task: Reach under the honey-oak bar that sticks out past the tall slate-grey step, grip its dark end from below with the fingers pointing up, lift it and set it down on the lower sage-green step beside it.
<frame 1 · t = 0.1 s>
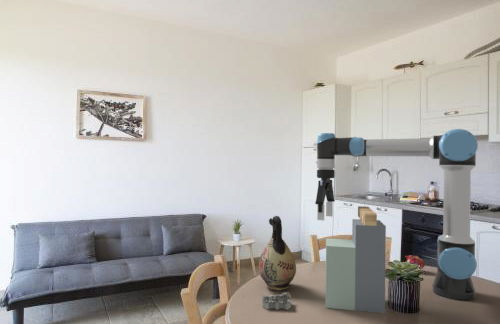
hand: (325, 218, 153), 28 cm above the table, tool pointing down, fingers open, 13 cm apart
oak bar: (366, 220, 136), point 30 cm above the table, touching two-step stand
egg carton: (276, 307, 128), on the table
flower: (414, 271, 173), on the table
ceramic jug: (277, 288, 147), on the table
two-step stand: (353, 302, 131), on the table
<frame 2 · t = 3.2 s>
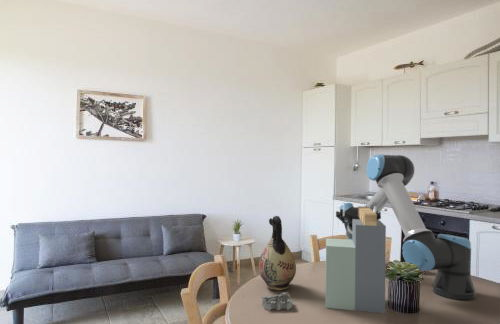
hand: (359, 208, 161), 32 cm above the table, tool pointing upward, fingers open, 13 cm apart
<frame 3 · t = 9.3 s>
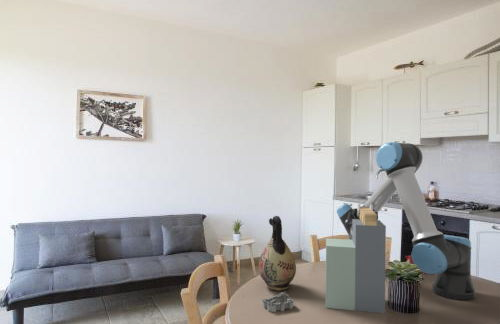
hand: (365, 207, 139), 35 cm above the table, tool pointing upward, fingers closed on oak bar, 4 cm apart
oak bar: (366, 220, 136), point 30 cm above the table, touching gripper, two-step stand
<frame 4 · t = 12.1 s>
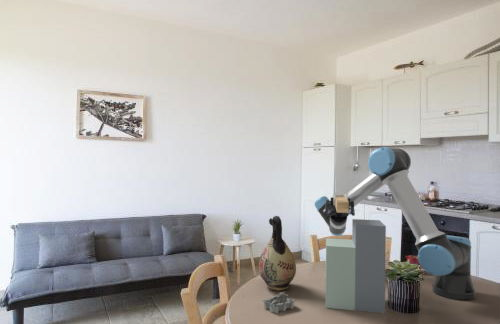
hand: (340, 195, 141), 39 cm above the table, tool pointing upward, fingers closed on oak bar, 4 cm apart
oak bar: (341, 208, 138), point 34 cm above the table, touching gripper
when the fingers open (28 cm above the table, at t = 15.1 s): oak bar drops 1 cm, resting on two-step stand.
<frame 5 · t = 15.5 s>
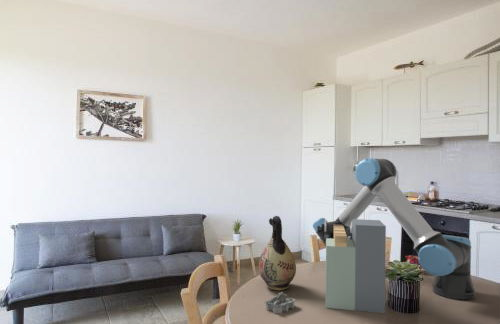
hand: (338, 223, 142), 28 cm above the table, tool pointing upward, fingers open, 10 cm apart
oak bar: (339, 239, 138), point 22 cm above the table, touching two-step stand
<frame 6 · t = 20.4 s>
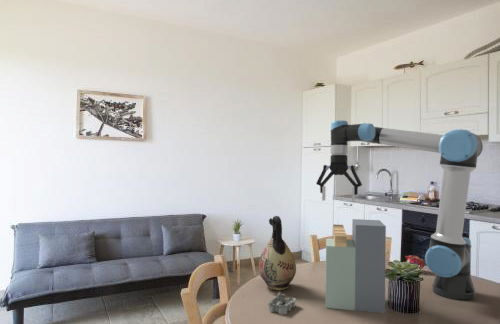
hand: (338, 201, 162), 35 cm above the table, tool pointing down, fingers open, 13 cm apart
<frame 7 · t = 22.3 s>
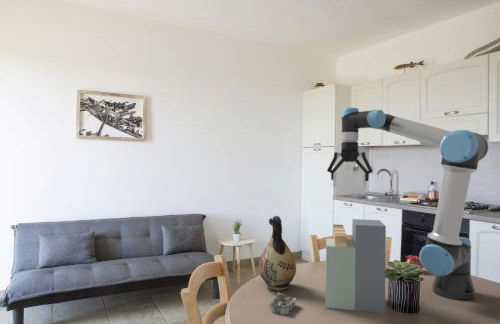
hand: (349, 187, 164), 41 cm above the table, tool pointing down, fingers open, 13 cm apart
at the end: oak bar 0.2 cm from the target spot on the two-step stand, point 22.0 cm above the two-step stand's base; oak bar tilted 0°; the gripper is holding nothing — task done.
